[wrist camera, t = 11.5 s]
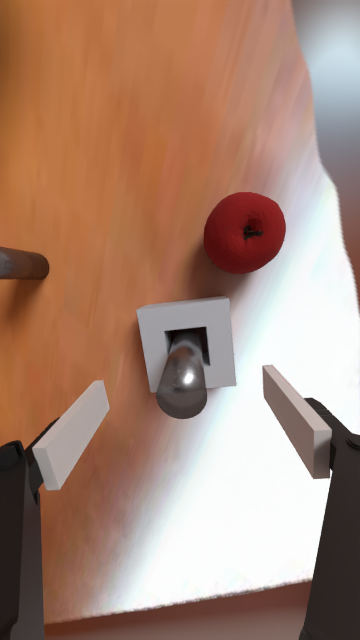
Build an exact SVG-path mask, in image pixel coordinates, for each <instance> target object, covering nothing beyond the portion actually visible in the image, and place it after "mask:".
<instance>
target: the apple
mask: <svg viewBox="0 0 360 640" xmlns="http://www.w3.org/2000/svg"><path fill="white" fill-rule="evenodd" d="M285 232H286V223H285V219H284V215H283V213H282V211H281V209H280V207H279V206H278V204H277V203H276V202H275V201H273V200H271V199H270V198H268V197H265V196H263V195H260V194H256V193H251V192H238V193H235V194H232V195H229V196H227V197H226V198H224V199H223V200H221V201H220V202H219V203H218V204H217V206H216V207H215V208H214V209H213V211H212V212H211V214H210V215H209V217H208V219H207V222H206V225H205V228H204V247H205V250H206V252H207V254H208V256H209V258H210V259H211V260H212V262H213V263H214V264H215V265H216V266H218V267H219V268H220V269H222V270H224V271H226V272H229V273H232V274H245V273H249V272H253V271H256V270H258V269H260V268H261V267H263V266H264V265H266V264H267V263H268V262H270V261H271V260H272V259H273V258H274V257H275V256H276V255H277V254H278V252H279V250H280V249H281V247H282V244H283V241H284V237H285Z"/></svg>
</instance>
